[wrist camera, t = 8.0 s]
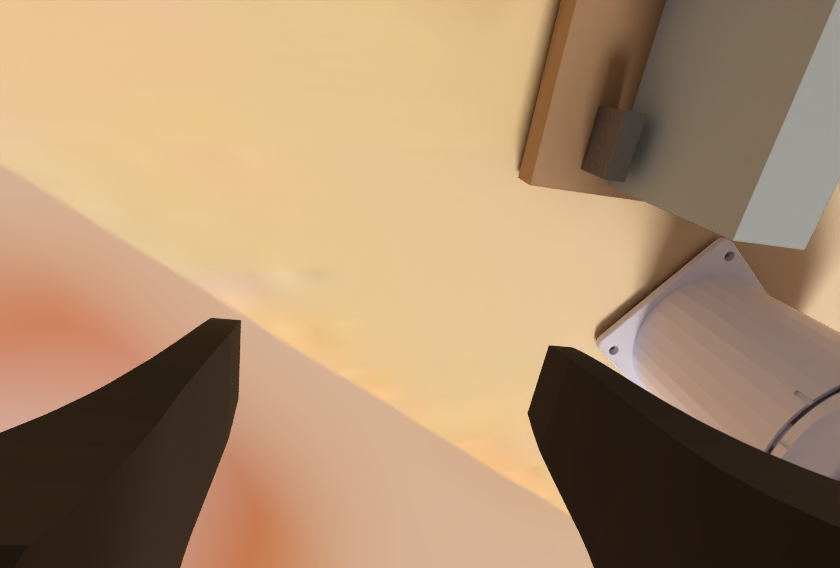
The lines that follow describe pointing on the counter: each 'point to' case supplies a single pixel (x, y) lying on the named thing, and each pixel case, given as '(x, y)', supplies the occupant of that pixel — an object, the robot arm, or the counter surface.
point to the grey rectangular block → (741, 117)
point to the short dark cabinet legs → (613, 143)
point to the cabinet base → (586, 87)
